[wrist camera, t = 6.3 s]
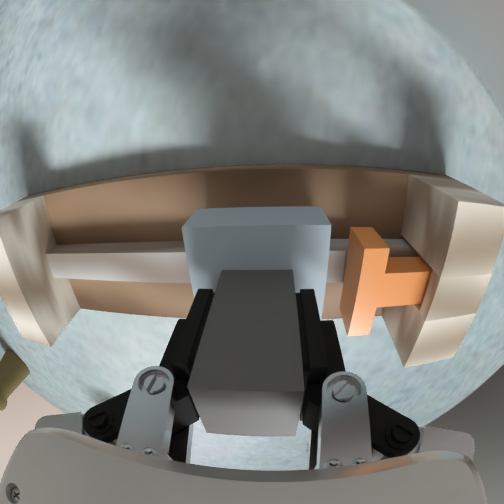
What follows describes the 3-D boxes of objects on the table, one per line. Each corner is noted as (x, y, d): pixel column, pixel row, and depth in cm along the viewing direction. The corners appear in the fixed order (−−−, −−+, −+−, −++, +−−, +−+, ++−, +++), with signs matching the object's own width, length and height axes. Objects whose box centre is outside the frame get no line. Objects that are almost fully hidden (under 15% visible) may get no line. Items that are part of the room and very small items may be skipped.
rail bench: (28, 195, 17) (-26, 226, 11) (446, 175, 14) (509, 207, 8) (60, 295, 21) (23, 337, 15) (418, 299, 19) (453, 357, 13)
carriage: (203, 200, 14) (110, 326, 6) (316, 198, 14) (381, 331, 5) (216, 305, 17) (180, 446, 9) (309, 305, 17) (328, 451, 8)
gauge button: (350, 226, 13) (364, 248, 11) (447, 229, 12) (470, 247, 10) (339, 307, 15) (347, 336, 13) (427, 301, 15) (442, 325, 12)
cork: (2, 344, 29) (-27, 384, 19) (23, 359, 30) (-7, 403, 20) (13, 364, 32) (-13, 402, 22) (33, 378, 32) (8, 420, 22)
